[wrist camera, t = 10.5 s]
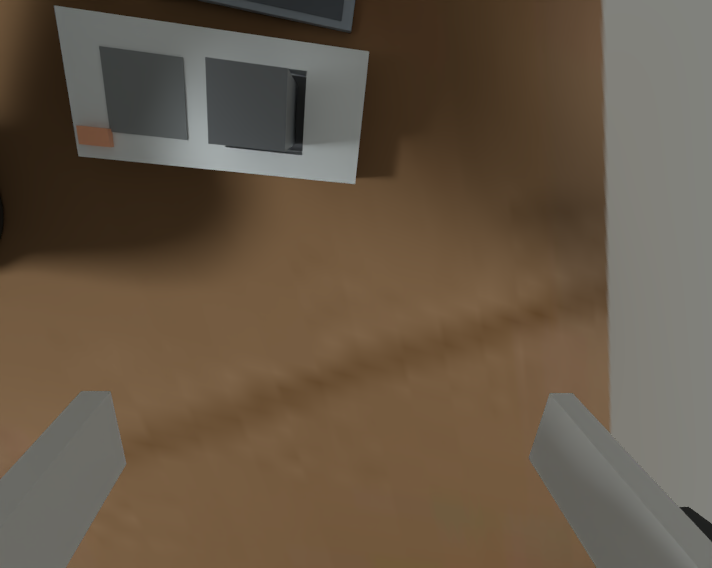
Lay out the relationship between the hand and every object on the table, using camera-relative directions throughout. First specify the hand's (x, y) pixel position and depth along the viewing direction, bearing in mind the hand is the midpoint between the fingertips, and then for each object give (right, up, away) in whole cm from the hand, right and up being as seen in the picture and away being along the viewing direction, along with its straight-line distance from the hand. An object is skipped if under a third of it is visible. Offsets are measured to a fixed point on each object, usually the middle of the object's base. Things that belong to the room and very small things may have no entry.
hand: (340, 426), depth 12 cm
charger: (-6, +18, +18) cm, 26 cm away
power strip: (-9, +18, +18) cm, 27 cm away
